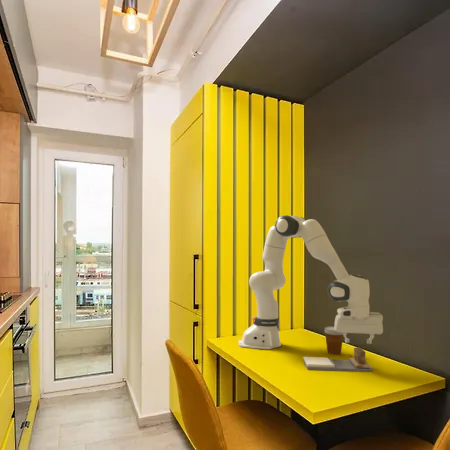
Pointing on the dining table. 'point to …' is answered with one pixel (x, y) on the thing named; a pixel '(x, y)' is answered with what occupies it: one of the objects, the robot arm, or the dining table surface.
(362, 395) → the dining table surface
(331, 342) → the disposable coffee cup
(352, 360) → the stub
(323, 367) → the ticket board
